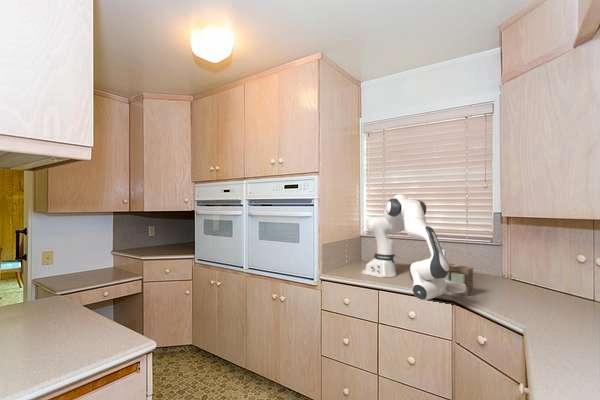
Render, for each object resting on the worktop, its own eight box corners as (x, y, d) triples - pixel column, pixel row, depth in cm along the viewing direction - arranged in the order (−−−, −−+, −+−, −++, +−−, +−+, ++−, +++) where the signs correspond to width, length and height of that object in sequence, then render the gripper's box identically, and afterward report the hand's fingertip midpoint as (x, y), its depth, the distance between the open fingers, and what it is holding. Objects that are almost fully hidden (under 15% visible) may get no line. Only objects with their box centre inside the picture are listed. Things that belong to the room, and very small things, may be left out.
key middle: (437, 281, 173) (437, 270, 173) (441, 279, 176) (442, 269, 176) (448, 283, 168) (448, 272, 168) (452, 282, 171) (452, 271, 171)
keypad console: (425, 285, 182) (425, 260, 181) (430, 283, 185) (430, 259, 185) (467, 296, 163) (467, 268, 162) (472, 293, 166) (473, 266, 166)
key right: (451, 284, 167) (451, 273, 167) (455, 282, 170) (455, 271, 170) (462, 286, 162) (462, 275, 162) (466, 285, 165) (466, 274, 165)
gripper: (458, 284, 145) (472, 280, 153) (418, 275, 161) (432, 271, 169) (458, 298, 145) (472, 292, 153) (418, 287, 161) (432, 283, 169)
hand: (451, 281), depth 161 cm, fingers closed
